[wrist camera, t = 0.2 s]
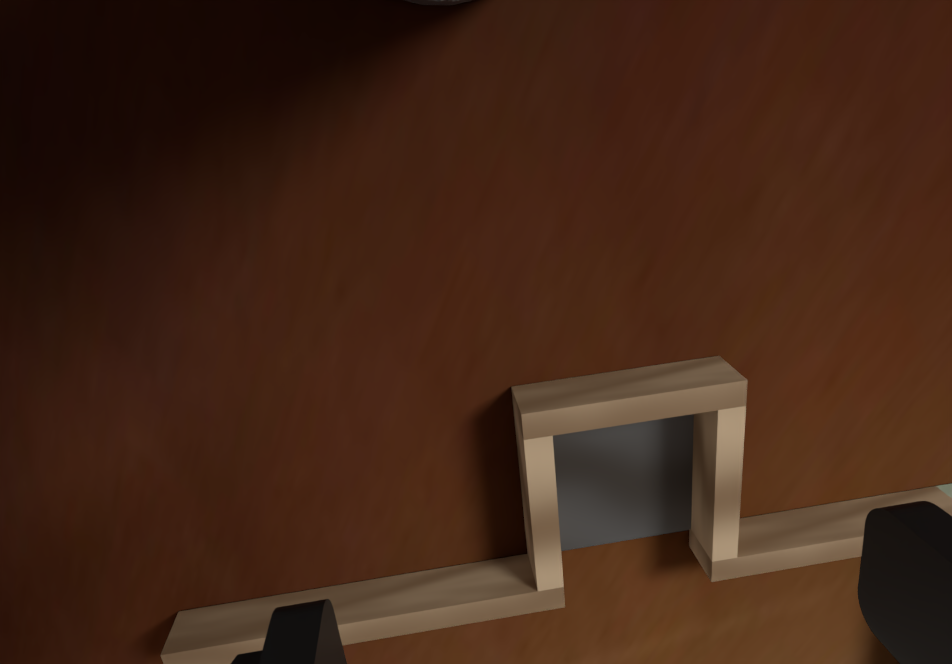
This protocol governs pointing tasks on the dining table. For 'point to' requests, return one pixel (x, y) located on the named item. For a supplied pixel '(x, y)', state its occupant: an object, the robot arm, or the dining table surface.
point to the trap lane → (584, 510)
